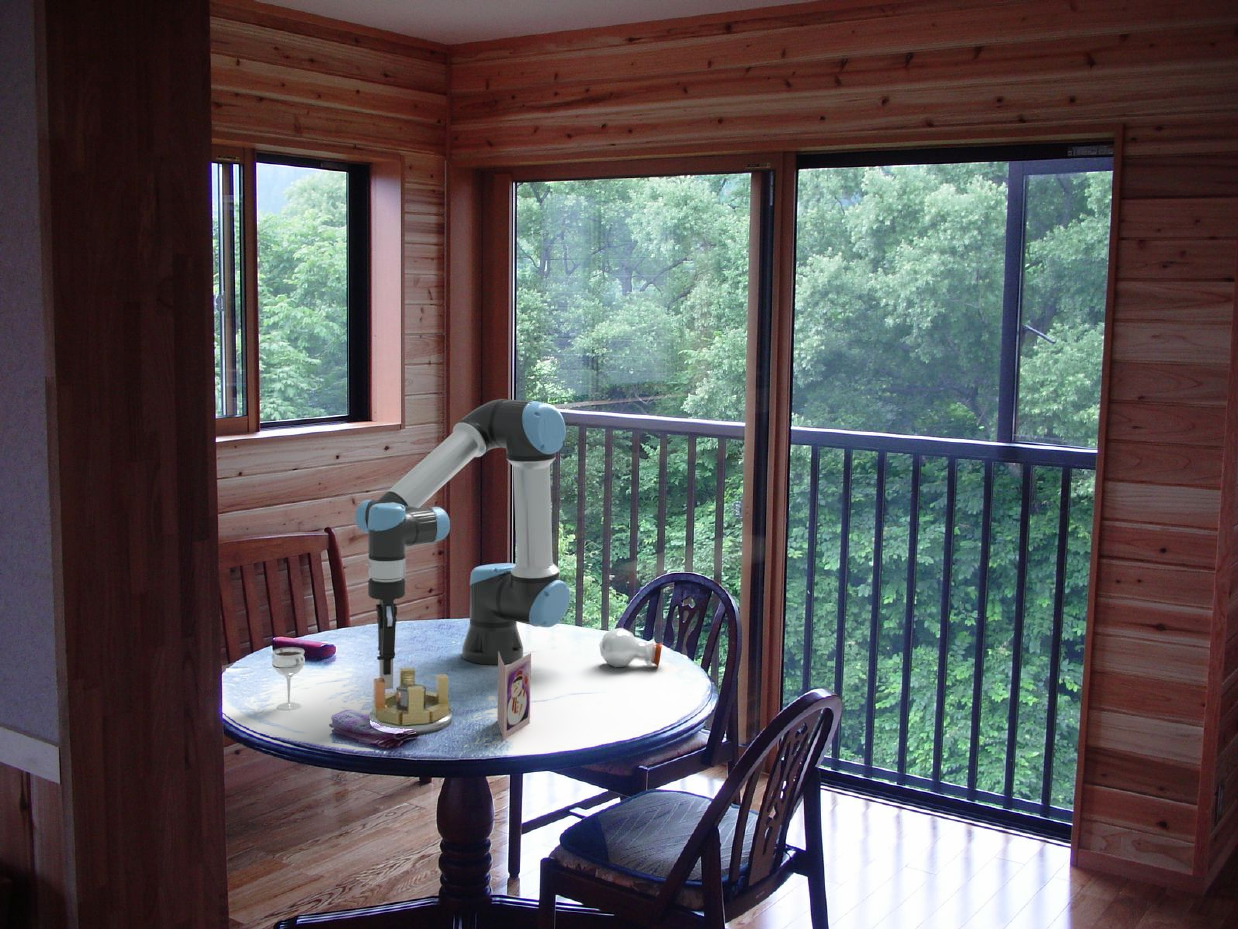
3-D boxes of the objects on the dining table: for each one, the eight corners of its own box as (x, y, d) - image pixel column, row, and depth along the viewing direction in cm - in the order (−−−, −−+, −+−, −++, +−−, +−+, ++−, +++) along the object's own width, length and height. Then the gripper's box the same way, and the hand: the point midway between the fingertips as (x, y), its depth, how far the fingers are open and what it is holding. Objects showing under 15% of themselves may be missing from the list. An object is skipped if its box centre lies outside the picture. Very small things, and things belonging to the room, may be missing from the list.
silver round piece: (445, 705, 259) (445, 673, 258) (458, 731, 243) (458, 698, 242) (365, 710, 254) (365, 678, 253) (373, 738, 238) (373, 704, 237)
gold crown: (441, 698, 258) (441, 666, 257) (452, 721, 244) (453, 687, 243) (370, 703, 253) (370, 670, 252) (378, 726, 239) (378, 692, 238)
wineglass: (287, 713, 251) (287, 658, 250) (265, 707, 255) (265, 652, 253) (311, 705, 257) (311, 651, 255) (289, 699, 260) (289, 645, 259)
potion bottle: (595, 669, 294) (655, 678, 294) (597, 656, 285) (659, 665, 285) (601, 634, 298) (660, 643, 298) (603, 619, 290) (664, 629, 289)
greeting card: (507, 740, 239) (508, 667, 237) (475, 734, 242) (476, 662, 240) (533, 723, 249) (534, 653, 248) (502, 717, 252) (503, 648, 250)
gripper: (365, 572, 253) (364, 680, 256) (371, 585, 241) (371, 698, 244) (400, 570, 255) (400, 677, 258) (409, 584, 243) (408, 696, 246)
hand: (386, 688), depth 251 cm, fingers closed
